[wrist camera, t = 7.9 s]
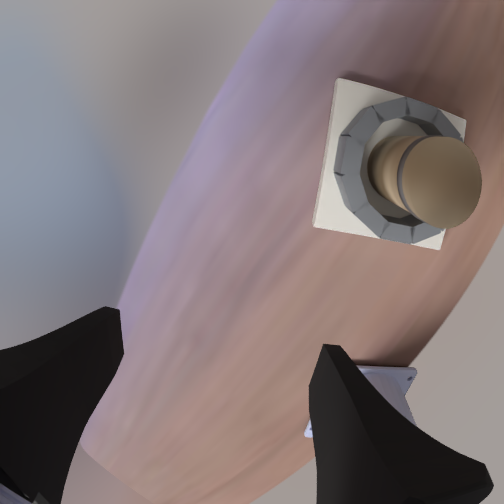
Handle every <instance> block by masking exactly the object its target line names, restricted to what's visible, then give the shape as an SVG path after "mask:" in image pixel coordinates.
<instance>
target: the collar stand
mask: <svg viewBox="0 0 504 504" xmlns="http://www.w3.org/2000/svg"><path fill="white" fill-rule="evenodd" d="M465 129H466V120H465V119H463V118H460V117H458V116H456V115H453V114H451V113H449V112H446V111H444V110H441V109H439V108H437V107H434V106H431V105H429V104H426V103H423V102H421V101H418V100H415V99H412V98H409V97H406V96H403V95H399V94H396V93H393V92H390V91H387V90H383V89H380V88H377V87H373V86H369V85H366V84H362V83H358V82H354V81H350V80H346V79H342V78H338V79H337V80H336V81H335V86H334V94H333V101H332V108H331V115H330V121H329V128H328V134H327V141H326V147H325V153H324V159H323V165H322V170H321V176H320V182H319V187H318V193H317V198H316V204H315V209H314V214H313V219H312V224H313V226H314V227H317V228H323V229H329V230H335V231H341V232H346V233H352V234H358V235H363V236H369V237H374V238H380V239H385V240H390V241H396V242H401V243H406V244H411V245H416V246H421V247H426V248H431V249H436V250H440V247H441V244H442V241H443V237H444V233H445V230H446V229H440V228H436V227H433V226H431V225H429V224H427V223H424V222H422V221H421V220H419V219H417V218H416V217H414V216H413V215H412V214H411V213H409V212H408V211H406V210H404V209H403V208H401V207H399V206H397V205H396V204H394V203H392V202H390V201H388V200H387V199H385V198H383V197H382V196H380V195H379V194H378V193H377V192H376V191H375V190H374V188H373V187H372V185H371V183H370V181H369V178H368V173H367V163H368V158H369V155H370V153H371V151H372V149H373V148H374V146H375V145H376V144H377V143H378V142H379V141H381V140H382V139H384V138H387V137H390V136H428V135H440V136H445V137H451V138H455V139H458V140H460V141H461V142H463V143H464V136H465Z"/></svg>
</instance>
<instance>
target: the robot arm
mask: <svg viewBox="0 0 504 504" xmlns="http://www.w3.org/2000/svg"><path fill="white" fill-rule="evenodd" d="M123 355H124V349H123V340H122V331H121V320H120V310H119V309H114V308H110V307H106V306H105V307H102V308H100V309H98V310H96V311H93V312H92V313H89V314H87V315H85V316H83V317H81V318H79V319H77V320H75V321H74V322H71V323H69V324H67V325H66V326H63V327H61V328H59V329H57V330H55V331H52V332H50V333H48V334H46V335H44V336H41V337H39V338H37V339H34V340H31V341H29V342H26V343H23V344H21V345H17V346H14V347H11V348H7V349H3V350H0V504H61V499H62V495H63V490H64V485H65V482H66V478H67V475H68V471H69V468H70V465H71V461H72V459H73V456H74V453H75V450H76V447H77V445H78V442H79V440H80V438H81V435H82V433H83V430H84V428H85V426H86V424H87V422H88V420H89V418H90V416H91V415H92V413H93V411H94V409H95V408H96V406H97V404H98V403H99V401H100V399H101V398H102V396H103V394H104V393H105V391H106V389H107V388H108V386H109V384H110V383H111V381H112V379H113V378H114V376H115V374H116V372H117V369H118V367H119V365H120V362H121V360H122V358H123ZM416 374H417V370H416V369H415V368H412V367H378V366H358V365H355V363H354V362H353V361H352V360H351V358H350V357H349V356H348V355H347V353H346V352H345V351H344V350H343V348H342V347H341V346H340V345H329V344H323V346H322V349H321V352H320V355H319V358H318V361H317V364H316V367H315V370H314V373H313V376H312V379H311V381H310V384H309V413H310V420H309V422H308V425H307V427H306V429H305V431H304V435H305V436H306V437H313V442H314V449H315V457H316V466H317V504H479V503H480V502H481V501H483V500H484V499H485V498H486V497H487V496H488V495H489V494H490V493H491V491H492V489H493V486H494V485H493V482H492V480H491V477H490V475H489V473H488V470H487V468H486V466H485V464H484V463H481V462H479V461H477V460H474V459H472V458H469V457H467V456H465V455H462V454H460V453H458V452H456V451H454V450H453V449H451V448H449V447H447V446H445V445H443V444H442V443H440V442H438V441H437V440H435V439H434V438H432V437H431V436H429V435H428V434H426V433H425V432H423V431H422V430H420V429H419V428H418V427H417V426H416V424H415V421H414V419H413V416H412V413H411V411H410V408H409V406H408V404H407V401H406V399H405V394H406V392H407V391H408V389H409V387H410V385H411V383H412V381H413V380H414V378H415V376H416ZM408 377H409V378H408Z"/></svg>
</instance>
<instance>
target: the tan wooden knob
mask: <svg viewBox="0 0 504 504" xmlns="http://www.w3.org/2000/svg"><path fill="white" fill-rule="evenodd" d="M367 173H368V178H369V181H370V183H371V185H372V187H373V188H374V190H375V191H376V192H377V193H378V194H379V195H380V196H382V197H383V198H385V199H387V200H388V201H390V202H392V203H394V204H396V205H397V206H399V207H401V208H403V209H404V210H406V211H408V212H409V213H411V214H412V215H413V216H414V217H416V218H417V219H419V220H421V221H422V222H424V223H427V224H429V225H431V226H433V227H436V228H440V229H448V228H453V227H456V226H458V225H460V224H462V223H463V222H464V221H466V220H467V219H468V218H469V217H470V215H471V214H472V213H473V211H474V210H475V208H476V206H477V204H478V201H479V198H480V194H481V187H482V178H481V171H480V167H479V164H478V161H477V159H476V157H475V155H474V154H473V152H472V151H471V150H470V148H469V147H468V146H467V145H465V144H464V143H463V142H461V141H460V140H458V139H455V138H451V137H445V136H440V135H428V136H390V137H387V138H384V139H382V140H381V141H379V142H378V143H377V144H376V145H375V146H374V148H373V149H372V151H371V153H370V155H369V158H368V163H367Z"/></svg>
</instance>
